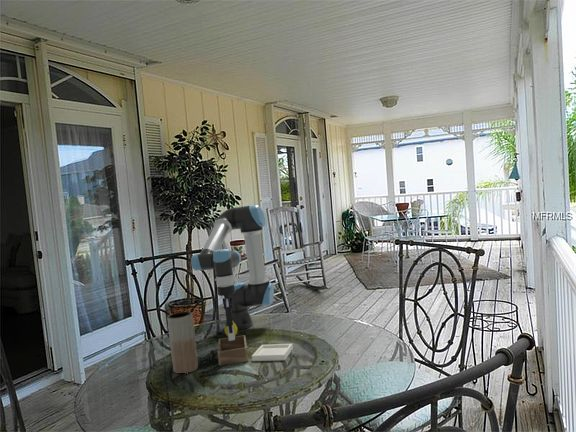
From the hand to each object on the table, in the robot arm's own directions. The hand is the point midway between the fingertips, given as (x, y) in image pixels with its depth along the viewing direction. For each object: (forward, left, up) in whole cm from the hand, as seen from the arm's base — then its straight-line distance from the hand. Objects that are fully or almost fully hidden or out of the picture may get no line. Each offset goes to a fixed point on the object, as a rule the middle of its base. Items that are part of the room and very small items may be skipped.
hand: (231, 337), depth 191 cm
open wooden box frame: (0, 0, -8) cm, 8 cm away
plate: (0, +18, -8) cm, 20 cm away
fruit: (0, 0, -1) cm, 1 cm away
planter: (+15, -15, -8) cm, 23 cm away
